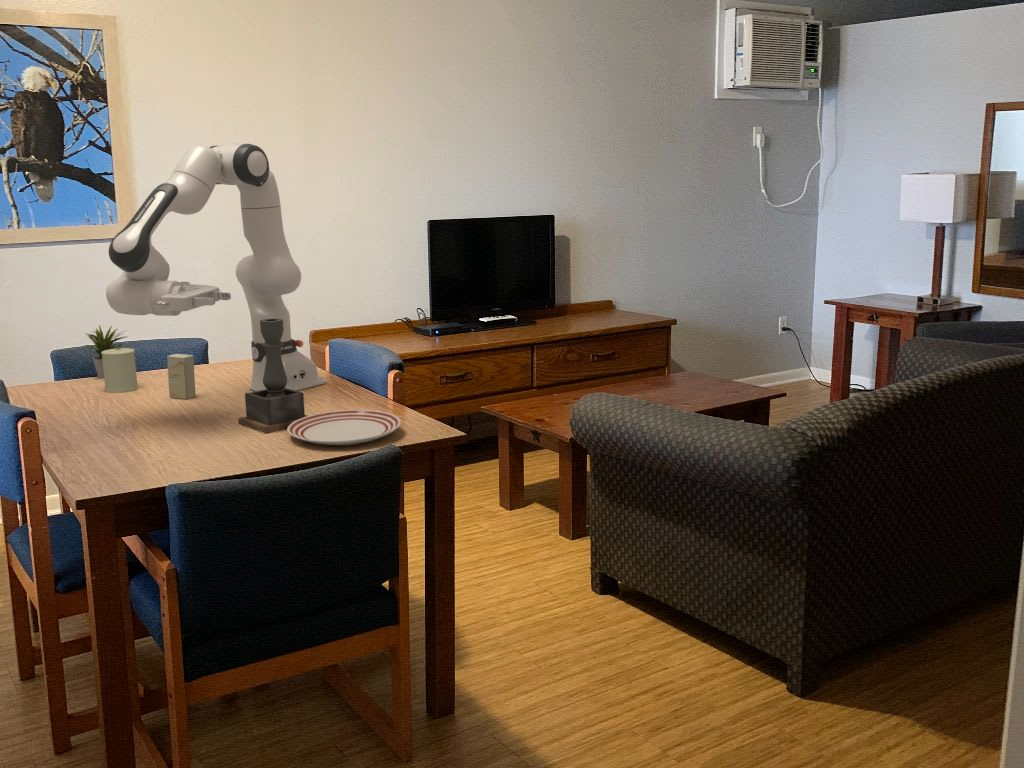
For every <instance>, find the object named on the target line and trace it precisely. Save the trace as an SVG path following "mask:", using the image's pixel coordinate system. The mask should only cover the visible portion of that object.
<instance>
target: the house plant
mask: <svg viewBox="0 0 1024 768" xmlns="http://www.w3.org/2000/svg"><path fill="white" fill-rule="evenodd" d="M112 327H113V325H111V326H110V327H109V329H108V330H107V332H106V333H105V336H104V333H103V330H102V327H101V325H100V324H99V325H98V328H95V331H93V330H91V332H93V333H95V334H91V333H85V335H86V337H87V338H89V339H90V340H91V341H92V342H93V344H94V345H95V347H94V346H92V345H89V344H85V345H83V347H86V348H90V349H92V353H93V354H94V353H96V354H97V355H96V356H93V357H92V360H93V363H94V364H93V365H94V367H95V371H96V374H97V377H98V378H99V379H104V369H103V359H102V353H101V352H102V351H105V350H109V349H117V348H121V347H125V346H124V343H125V341H124V342H120V343H115V342H117V341H120V340H122V339H125V338H128V337H129V336H121V337H119V336H120V335H122V333H124V332H125V330H123V331H120V332H118V333H117V332H116V331H117V330H118V328H116V329H114V330H113V331H112V332H111V330H112ZM127 331H129V330H126V332H127Z"/></svg>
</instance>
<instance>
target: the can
mask: <svg viewBox="0 0 1024 768" xmlns="http://www.w3.org/2000/svg"><path fill="white" fill-rule="evenodd" d="M135 352H136V351H135V349H134V348H130V347H128V348H127V347H119V348H116V349H112V348H111V349H109V350H105V351H102V352H101V353H102V359H103V369H104V378H103V379H104V391H105V392H106V393H111V392H120V393H127V391H129V392H132V390H133V391H136V390H138V389H139V386H138V378H137V376H138V375H137V367H136V355H135ZM137 388H138V389H137ZM135 389H136V390H135Z"/></svg>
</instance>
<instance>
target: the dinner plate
mask: <svg viewBox="0 0 1024 768" xmlns="http://www.w3.org/2000/svg"><path fill="white" fill-rule="evenodd" d="M401 423H402V420H401V418H399V416H397V415H395V414H393V413H389V412H386V411H381V410H372V409H339V410H333V411H332V410H331V411H325V412H319V413H315V414H311V415H307V417H304V418H301V419H298V420H296V421H294V422H293V423H291V424H290V425H289V426H288V428H287V429H286V430H287V433H288V434H289V435H290V436H291V437H293V438H296V439H298V440H302V441H305V442H309V443H312V444H316V443H317V445H321V444H325V445H324V446H330V445H345V446H352V445H351V444H356V445H359V444H358V443H362V444H365V443H364V442H367V443H369V442H368V441H370V442H373V441H376V440H377V439H380V438H383V437H386V436H387V435H390V434H391V433H393V432H395V431H396V430H398V428H399V427H400V426H401ZM375 439H376V440H375ZM372 440H373V441H372Z"/></svg>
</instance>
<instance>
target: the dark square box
mask: <svg viewBox="0 0 1024 768" xmlns="http://www.w3.org/2000/svg"><path fill="white" fill-rule="evenodd" d="M284 389H285V390H284V393H285V394H286V395H285V396H279V397H274V398H269V399H267V398H266V396H267V394H268V392H267V389H265V390H260V391H254V390H253V391H249V392H245V393H244V399H245V400H244V401H245V416H243V417H238V419H237V420H238V423H237V424H238V425H240V424H241V425H240V426H243V425H244V426H243V427H246V426H247V427H246V428H248V427H250V428H249V429H251V428H253V429H252V430H254V429H256V430H255V431H257V430H258V431H257V432H260V431H261V432H260V433H262V432H263V434H268V433H267V432H269V433H272V431H274V432H277V431H276V430H279V431H282V430H281V429H283V430H287V429H286V428H288V426H289V425H290V424H291V423H293V422H294V421H296V420H298V419H301V418H304V417H307V416H308V415H306V414H305V413H306V412H305V397H304V392H301V391H299V390H297V391H295V390H291V389H288V388H284Z"/></svg>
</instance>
